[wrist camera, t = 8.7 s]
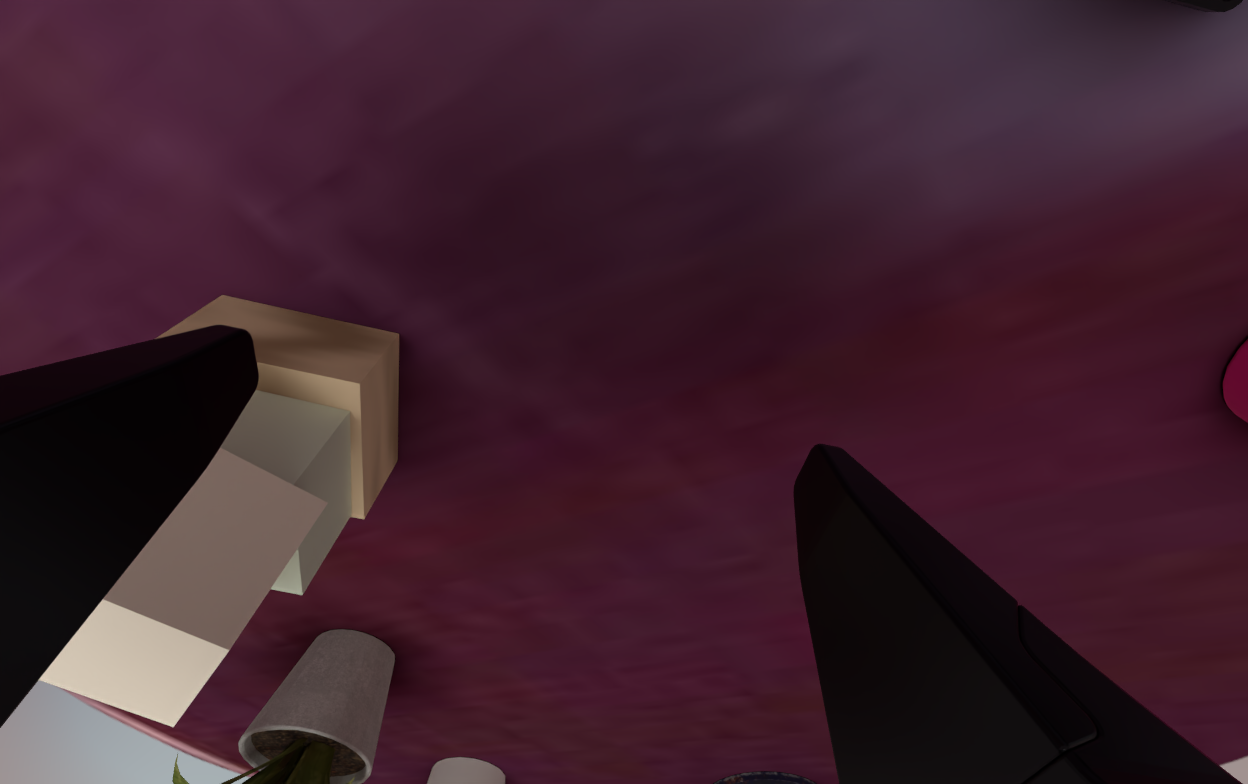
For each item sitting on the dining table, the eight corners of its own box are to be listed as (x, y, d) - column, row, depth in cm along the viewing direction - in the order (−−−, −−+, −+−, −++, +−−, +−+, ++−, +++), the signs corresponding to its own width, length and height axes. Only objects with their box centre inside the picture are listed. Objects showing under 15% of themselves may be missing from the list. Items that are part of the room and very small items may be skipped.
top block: (349, 411, 21) (292, 486, 18) (351, 514, 24) (302, 595, 21) (193, 375, 20) (103, 446, 17) (215, 485, 23) (141, 564, 20)
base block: (401, 331, 24) (359, 383, 20) (399, 457, 28) (364, 519, 24) (225, 292, 23) (153, 340, 20) (248, 427, 27) (191, 486, 24)
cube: (328, 502, 18) (229, 650, 14) (272, 580, 20) (173, 727, 16) (163, 418, 16) (-4, 556, 12) (123, 512, 19) (-30, 656, 15)
